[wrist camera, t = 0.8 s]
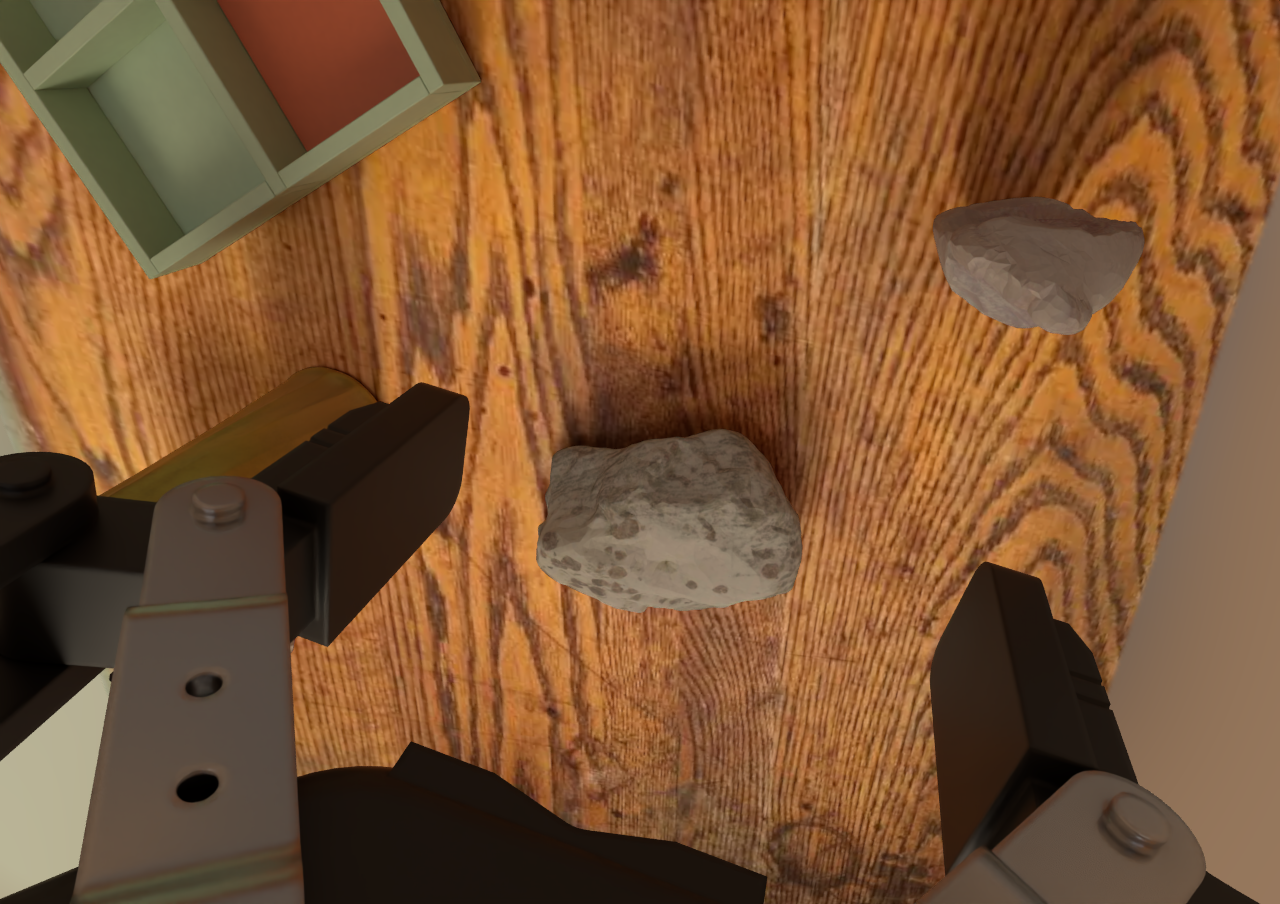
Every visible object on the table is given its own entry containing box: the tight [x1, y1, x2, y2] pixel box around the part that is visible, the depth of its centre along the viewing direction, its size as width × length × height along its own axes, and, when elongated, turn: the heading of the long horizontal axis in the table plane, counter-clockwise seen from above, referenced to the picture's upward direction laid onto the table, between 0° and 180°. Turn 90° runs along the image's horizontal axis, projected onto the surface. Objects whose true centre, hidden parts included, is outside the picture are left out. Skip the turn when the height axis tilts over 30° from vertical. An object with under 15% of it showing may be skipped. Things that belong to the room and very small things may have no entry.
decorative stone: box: [536, 429, 802, 613], centre depth 35 cm, size 12×11×5 cm
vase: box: [99, 367, 377, 502], centre depth 34 cm, size 6×6×14 cm
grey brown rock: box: [933, 197, 1144, 335], centre depth 25 cm, size 6×4×10 cm, turn 87°
